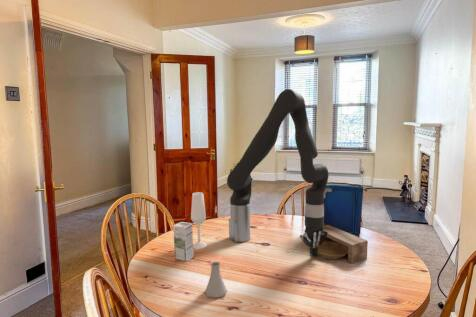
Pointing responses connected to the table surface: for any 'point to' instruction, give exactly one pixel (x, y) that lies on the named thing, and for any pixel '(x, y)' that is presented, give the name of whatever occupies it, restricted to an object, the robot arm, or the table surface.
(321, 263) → the table surface
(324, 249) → the plant saucer
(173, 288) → the table surface
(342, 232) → the walnut shelf
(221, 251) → the table surface
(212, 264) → the flask
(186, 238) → the syrup box
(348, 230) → the book
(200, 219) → the champagne flute
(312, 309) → the table surface
